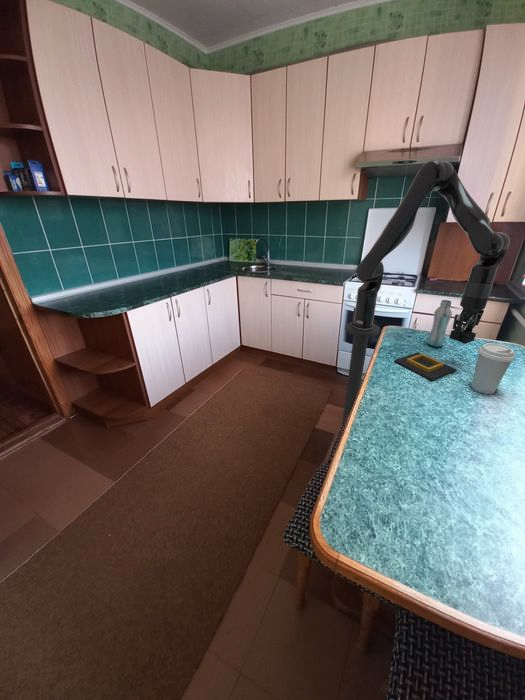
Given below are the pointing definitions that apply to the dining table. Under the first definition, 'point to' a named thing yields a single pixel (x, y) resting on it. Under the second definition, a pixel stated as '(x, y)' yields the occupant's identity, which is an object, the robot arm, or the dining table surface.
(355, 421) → the dining table surface
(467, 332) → the black block
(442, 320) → the plastic bottle
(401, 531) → the dining table surface
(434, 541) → the dining table surface
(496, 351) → the coffee cup
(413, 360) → the base pad
